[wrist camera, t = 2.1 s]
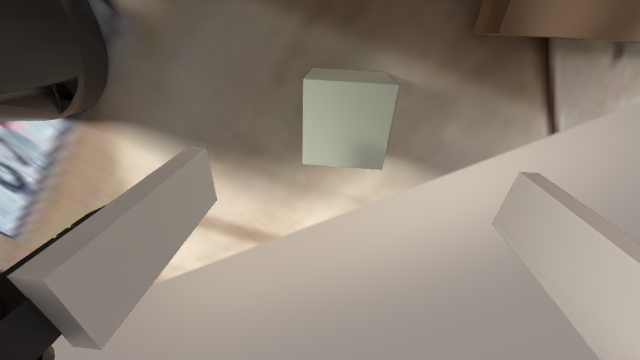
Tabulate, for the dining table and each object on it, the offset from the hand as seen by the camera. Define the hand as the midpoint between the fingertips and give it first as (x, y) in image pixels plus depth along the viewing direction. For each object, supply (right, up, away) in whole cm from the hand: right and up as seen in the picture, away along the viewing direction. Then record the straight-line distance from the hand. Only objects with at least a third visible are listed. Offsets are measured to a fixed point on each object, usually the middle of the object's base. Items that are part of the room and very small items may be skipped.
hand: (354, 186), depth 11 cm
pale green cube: (+1, +7, +11) cm, 13 cm away
